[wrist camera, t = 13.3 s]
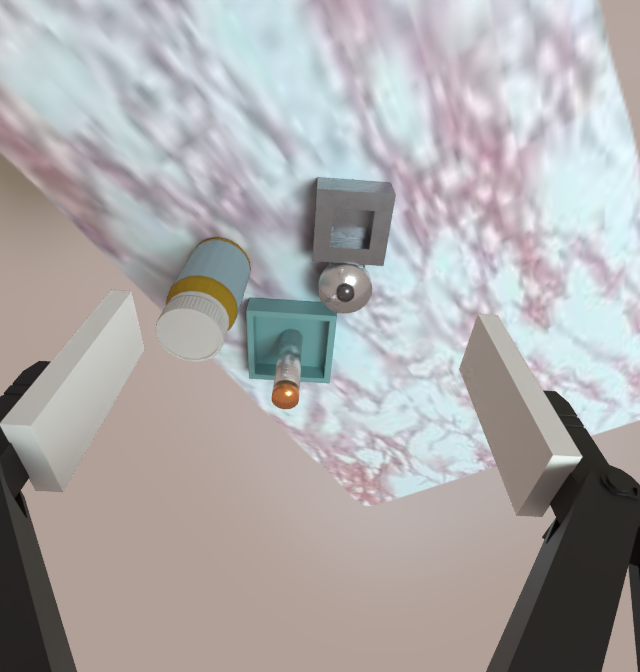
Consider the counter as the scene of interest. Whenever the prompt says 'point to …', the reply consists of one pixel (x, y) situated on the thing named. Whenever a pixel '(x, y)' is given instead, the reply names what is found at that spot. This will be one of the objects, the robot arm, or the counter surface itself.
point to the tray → (281, 315)
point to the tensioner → (350, 238)
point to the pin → (288, 370)
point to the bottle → (204, 301)
